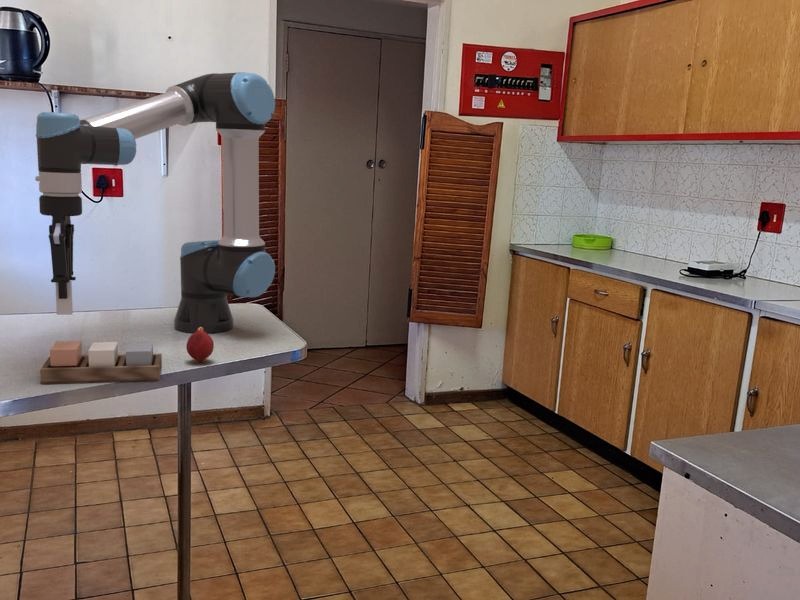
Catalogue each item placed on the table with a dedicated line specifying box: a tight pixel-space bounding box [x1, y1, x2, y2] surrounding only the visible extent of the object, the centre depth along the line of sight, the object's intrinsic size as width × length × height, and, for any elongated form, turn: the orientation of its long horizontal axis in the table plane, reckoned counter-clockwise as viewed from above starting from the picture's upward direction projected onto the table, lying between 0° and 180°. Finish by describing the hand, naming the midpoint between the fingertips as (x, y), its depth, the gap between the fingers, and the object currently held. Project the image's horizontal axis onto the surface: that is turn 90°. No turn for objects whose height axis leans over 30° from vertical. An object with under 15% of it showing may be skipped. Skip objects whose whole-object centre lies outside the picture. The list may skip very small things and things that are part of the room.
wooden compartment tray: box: [39, 353, 163, 385], centre depth 151 cm, size 22×10×3 cm, turn 105°
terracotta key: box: [49, 340, 83, 366], centre depth 149 cm, size 5×7×3 cm
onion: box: [185, 327, 215, 363], centre depth 163 cm, size 6×6×8 cm
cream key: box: [87, 341, 119, 367], centre depth 151 cm, size 5×7×3 cm
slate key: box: [125, 342, 154, 366], centre depth 153 cm, size 5×7×3 cm
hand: (64, 313), depth 147 cm, fingers closed
